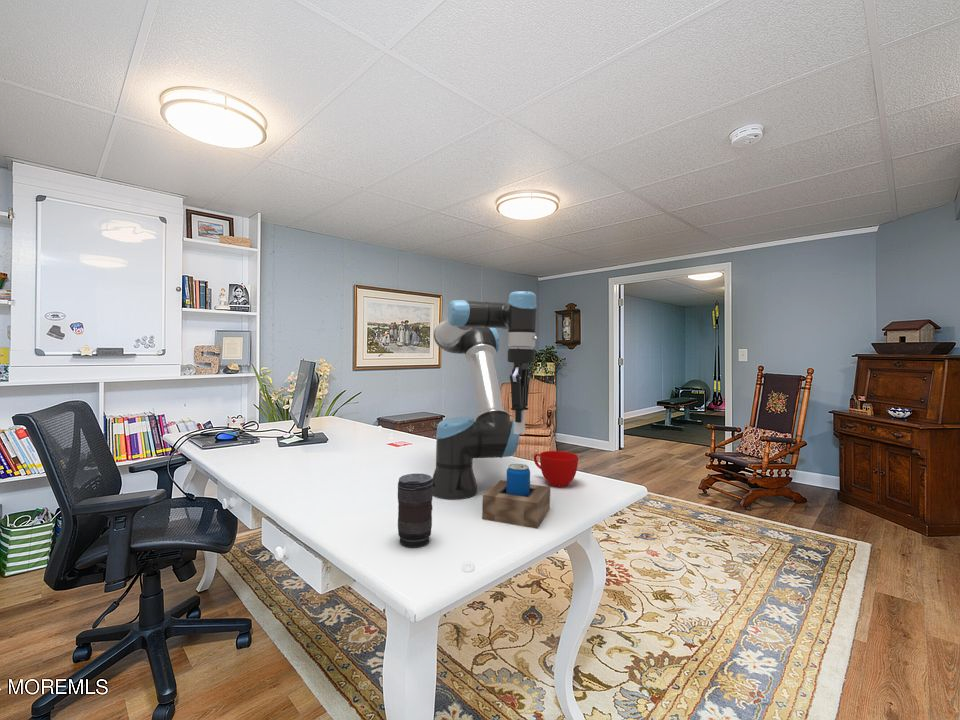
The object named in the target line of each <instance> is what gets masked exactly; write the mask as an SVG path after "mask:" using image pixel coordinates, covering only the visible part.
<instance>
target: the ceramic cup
mask: <svg viewBox="0 0 960 720" xmlns="http://www.w3.org/2000/svg"><path fill="white" fill-rule="evenodd" d="M537 457H539V462H538V460H537ZM533 462H534V464H535V466H536V467H537V468H538V469H540V471H541V473H542V477H543V478H544V479H545V481H546V482H547V483H548V485H549V486H552V487H555V488H556V487H558V488H559V487H560V488H565V487H568V486H569V484H570V483H571V482H572V481H573V480H574V478H575V477H576V474H577V471H578V465H579V455H577V454H576V453H573V452H569V451H561V450H548V451H547V450H546V451H542V452H540V453H536V454H534V455H533ZM539 463H540V464H539Z"/></svg>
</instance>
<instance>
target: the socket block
mask: <svg viewBox="0 0 960 720" xmlns="http://www.w3.org/2000/svg"><path fill="white" fill-rule="evenodd" d="M506 481H507V480H499V481H498V482H497V483H495V484H494V485H493V486H492V487H491V488H489V489H488V490H487V491H486V492H484V493H483V494H482V506H481V507H482V508H481V509H482V511H481V512H482V513H481V514H482V515H481V519H482V520H484V521H491V522H498V523H502V524H503V523H504V524H509V525H515V526H519V527H520V526H521V527H525V528H531V529H532V528H533V529H539V527H540V524H542V522H543V520H544V519H545V518H546V516H547V514H548V513H549V511H550V510H551V506H550V505H551V486H547V485H546V486H545V485H539V484H532V483H530V494H529V495H528V496H527V497H526V496H519V495H512V494H506Z"/></svg>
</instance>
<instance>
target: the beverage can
mask: <svg viewBox="0 0 960 720" xmlns="http://www.w3.org/2000/svg"><path fill="white" fill-rule="evenodd" d="M505 481H506V494H512V495H519V496H526V497H527V496H528V495H529V494H530V484H531V470H530V467H529V465H527V464H523V463H512V464H508V468H507V469H506V480H505Z"/></svg>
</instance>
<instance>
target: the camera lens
mask: <svg viewBox="0 0 960 720" xmlns="http://www.w3.org/2000/svg"><path fill="white" fill-rule="evenodd" d="M432 477H433V476H431V475H430V474H427V473H408V474H405V475H404V474H403V475H402V476H400V477H398V482H397V502H398V507H397V510H398V511H397V531H398V537H399V542H400V544H401V545H402V546H404V547H406V548H420V547H423V546H426V545H427V544H429V541H430V536H431V534H432V526H433V515H432V513H433V497H434V495H433V482H432Z"/></svg>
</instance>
